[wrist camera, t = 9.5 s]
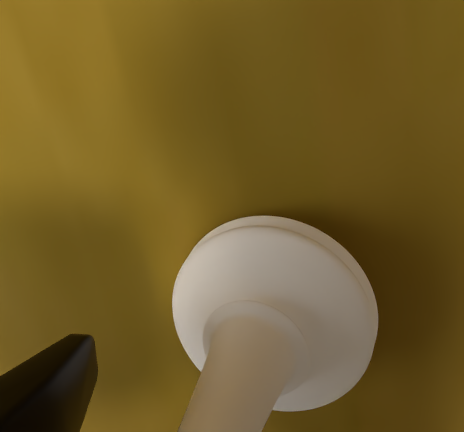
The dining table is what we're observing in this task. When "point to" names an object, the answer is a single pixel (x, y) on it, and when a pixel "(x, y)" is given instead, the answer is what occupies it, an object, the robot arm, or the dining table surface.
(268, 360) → the chess piece
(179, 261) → the dining table surface
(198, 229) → the dining table surface
